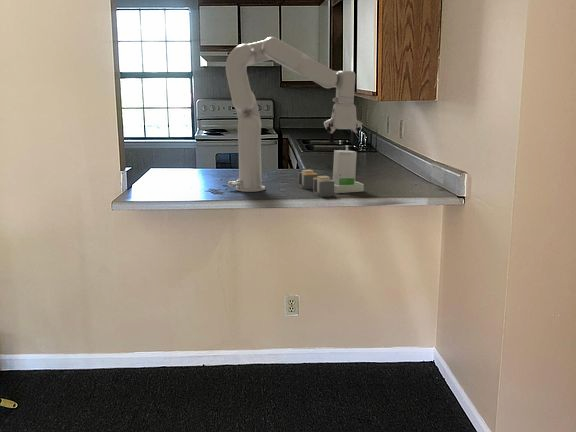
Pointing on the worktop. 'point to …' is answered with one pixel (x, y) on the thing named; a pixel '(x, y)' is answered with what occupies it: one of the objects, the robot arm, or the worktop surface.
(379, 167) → the worktop surface
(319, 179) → the cartridges
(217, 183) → the worktop surface
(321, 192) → the rail
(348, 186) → the tray
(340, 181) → the skincare box
